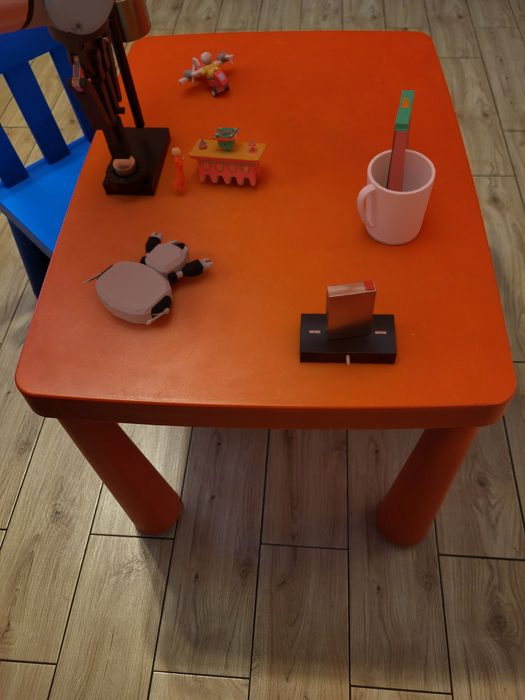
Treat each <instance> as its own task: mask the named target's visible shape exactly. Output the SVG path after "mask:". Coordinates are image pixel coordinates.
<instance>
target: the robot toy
mask: <svg viewBox="0 0 525 700" xmlns="http://www.w3.org/2000/svg"><path fill="white" fill-rule="evenodd" d="M163 238H164V234H163V233H162V232H158V231H153V232H152V233H151V234H150V236H148V239H147V240H146V242H145V245H144V250H145V255H143V256H141V258H140V260H139V262H137V261H131V260H123V261H117V262H115V263H114V264H111V265H109V267H107V268H105V269H103V270H102V271H100V273H98V274H96V275H95V276H92V277H90V278H89V279H86V280H84V281H83V282H82V283H81V285H83V286H86V285H87V284H89V283H90V282H92V281H94V280H96V282H95V285H94V287H95V291H96V294H97V296H98V299H99V301H100V303H101V304H102V306H103V307H104V308H105V309H106V310H107V311H108V312H109V313H110V314H111V315H113V316H115V317H117V318H118V319H119V318H120V319H122V320H124V321H127V322H129V323H133V324H146V325H147V326H149V325H151V324H152V323H153V322H155V321H157V320H159V319H160V318H162V317H163V316H164V315H168V314H169V313H170V310H171V308H172V306H173V299H174V296H173V295H174V294H173V292H172V287H171V285H173V284H176V283H178V282H179V279H180V278H182V277H185V278H191V279H194V278H196V277H199V276H201V275H204V270H210V269H212V267H213V266H214V265H213V264H214V263H213V262H212V260H211V258H208V257H205V258H203V259H201V260H199V258H196V259H194V260H192V261H191V259H190V253H189V247H188V245H187V244H186V243H185V242H179V240H176V239H175V240H173V239H172V240H169V241H167V242H162V240H163Z"/></svg>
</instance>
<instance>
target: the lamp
mask: <svg viewBox="0 0 525 700" xmlns="http://www.w3.org/2000/svg"><path fill="white" fill-rule="evenodd" d="M108 18H109V25H108V27H109V28H110V32H111V44H112V50H113V54H114V58H115V60H116V64H117V67H118V70H119V74H120V78H121V81H122V84H123V88H124V91H125V95H126V98H127V101H128V106H129V109H130V112H131V115H132V119H133V123H134V127H136V128H139V129H140V128H143V127H146V123H145V119H144V115H143V111H142V108H141V104H140V100H139V97H138V93H137V89H136V86H135V83H134V78H133V74H132V71H131V68H130V64H129V60H128V57H127V52H126V49H125V45H124V44H126V43H127V44H128V43H133V42H137V41H138V40H141V39H143V38H145V37H147V35H149V33H150V32H151V30H152V22H151V17H150V14H149V10H148V4H147V0H114V2H113V6H112V9H111V12H110V14H109V16H108Z"/></svg>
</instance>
